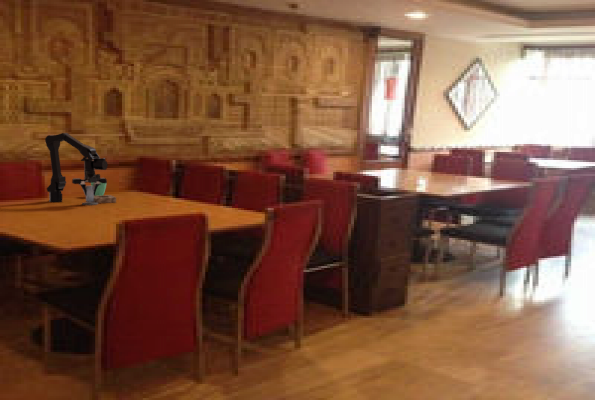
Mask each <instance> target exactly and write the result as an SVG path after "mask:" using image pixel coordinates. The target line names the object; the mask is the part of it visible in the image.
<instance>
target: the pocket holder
mask: <svg viewBox="0 0 595 400" xmlns="http://www.w3.org/2000/svg"><path fill="white" fill-rule="evenodd" d="M93 202H97V203H98V204H110V203H113V204H114V203H115V204H116V203H117V197H116V196H114V195H111V194H109V195H108V194H106V195H105V194H104V195H102V196H94V201H93Z"/></svg>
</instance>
